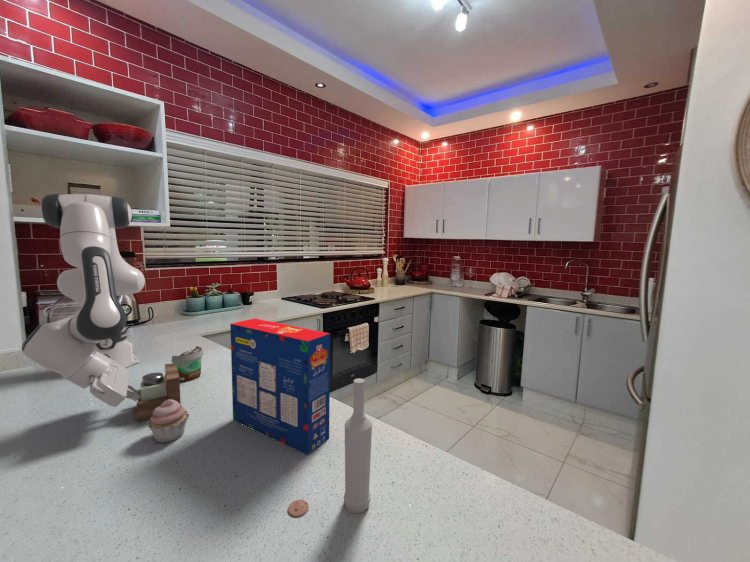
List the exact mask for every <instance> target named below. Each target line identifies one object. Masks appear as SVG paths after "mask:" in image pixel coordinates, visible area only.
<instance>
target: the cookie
mask: <svg viewBox="0 0 750 562" xmlns="http://www.w3.org/2000/svg"><path fill="white" fill-rule="evenodd" d="M309 508H310V507H309V503H308V501H306V500H305V499H296V500H293V501H291V502H290V504H288V507H287V513H288V514H289V516H291V517H294V518H295V517H297V518H299V517H302V516H304V515H306V514H307V513H308V511H309Z"/></svg>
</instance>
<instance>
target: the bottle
mask: <svg viewBox="0 0 750 562" xmlns="http://www.w3.org/2000/svg"><path fill="white" fill-rule="evenodd" d="M365 382H366V380H365V379H364V378H361V377H360V378H355V379H353V411H352V412H353V413H351V416H350V417H349V418H348V419H347V420H345V423H344V469H345V470H344V481H345V482H344V484H345V485H344V486H345V487H344V488H345V489H344V490H345V491H344V494H343V502H344V506H345V508H346V510H347V511H348V512H350V513H353V514H361V513H363V512H365V511H367V509H368V508H369V506H370V503H371V492H370V479H371V477H370V476H371V458H372V457H371V455H372V454H371V453H372V433H373V431H372V430H373V422H372V420H371V419H369V418H368V417H367V415H366V413H365V388H366V385H365Z"/></svg>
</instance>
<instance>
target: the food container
mask: <svg viewBox="0 0 750 562" xmlns="http://www.w3.org/2000/svg"><path fill="white" fill-rule="evenodd" d="M204 355H205V353H204V350H203V348H202V347H201V346H197V345H195V348H194V349H191V350H188V351H187V350H186V351H184V352H183V353H181V354H180V355H172V357H171V363H176V365H177V369H178V374H179V380H180V383H186V382H187V381H188V382H191V381H195V380H197V379H199V378H200V377H201V376H200V375H202V357H203V356H204Z"/></svg>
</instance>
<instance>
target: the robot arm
mask: <svg viewBox="0 0 750 562" xmlns="http://www.w3.org/2000/svg"><path fill="white" fill-rule="evenodd" d="M39 212H40V213H39V214H40V215H41V217H42V219H43V221H44V223H45V224H46V225H48V226H50V227H52V228H54V229H55V228H56V229H59V230H60V231H59V240H60V242H59V244H60V250H61V253H62V254H61V255H62V257H63V259H64V261H65V262H66V263H67V264H69V265H70V266H73V267H75V268H72V269H66V270H63V271H62V272H61V273H60V274H59V276H57V280H56V285H57V289H58V290H59V292H60V293H61V294H62V295H64V296H65V297H67V298H69V299H71V300H73V301H74V302H75V303H77V304H78V305H79V306H80V307H81V309H80V311H78V312H76V314H75V313H74V314H73V315H69V316H68V317H66V318H63V319H59V320H57V321H56V320H55V321H51V322H49V323H48V322H47V323H42V324H39V325H37V327H35V329H34V330H33V331H32V332H30V334H29V335H27V338H26V339H25V340H24V342H22V345H21V351H22V354H24V355H25V356H26V358H28V359H30V360H31V361H33V362H34V363H35V364H37V365H39V366H41V367H42V368H44V369H45V370H48V371H51V372H55V373H58V374H59V375H61V377H62V378H64V379H65V380H67V381H68V382H70V383H72V384H74V385H76V386H77V387H79V388H82V389H84V390H85V389H86V388H88V387H89V392H90V393H91V394H92V396H94V397H95V398H97V399H99V400H100V401H101V402H103V403H104V404H107V405H108V406H110V407H113V408H115V407H118V406H119V405H120V404H122V402H123V401H124V400H125V399H129V400H130V399H131V400H132V401H134V402H138V399H139V398H140V392H139V391H138V389H136V388H135V387H134V386H133V385H132V384H131V383H130V381H129V380H130V376H131V372H130V371H129V370H128V369H127V368H128V367H130V366H133V365H136V364H138V363H140V360H139V358H138V357H137V355H136V354H135V353H134V351H133V345H132V343H131V342H130V341H128V332H127V329H126V326H127V325H126V324H127V320H128V319H127V314H126V312H125V309H124V308H123V306H122V305H121V303H120V301H119V299H118V297H119V296H120V297H121V296H128V295H134V294H137V293H140V292H141V291H142V290H143V288H144V287H145V284H146V279H145V276H144V274H143V272H142V271H141V270H140V269H138V268H137V267H134V266H132V265H130V264H129V263H128V262H127V261H126V260H125V259H124V258H123V257H122V255H121V254H120V251H119V246H118V241H117V234H116V230H120V229H125V228H127V227H128V226H129V225H130V223H131V222H132V217H133V211H132V208H131V206H130V205H129V203H128V201H127V200H126V199H124V198H122V197H119V196H107V195H101V194H93V193H91V194H90V193H89V194H88V193H86V194H83V193H82V194H79V193H77V194H76V193H75V194H74V193H72V194H71V193H70V194H67V193H66V194H61V193H50V194H49V193H48V194H46V195H45V196H44V197H42V199H41V202H40V204H39ZM91 394H90V395H91Z"/></svg>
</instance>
